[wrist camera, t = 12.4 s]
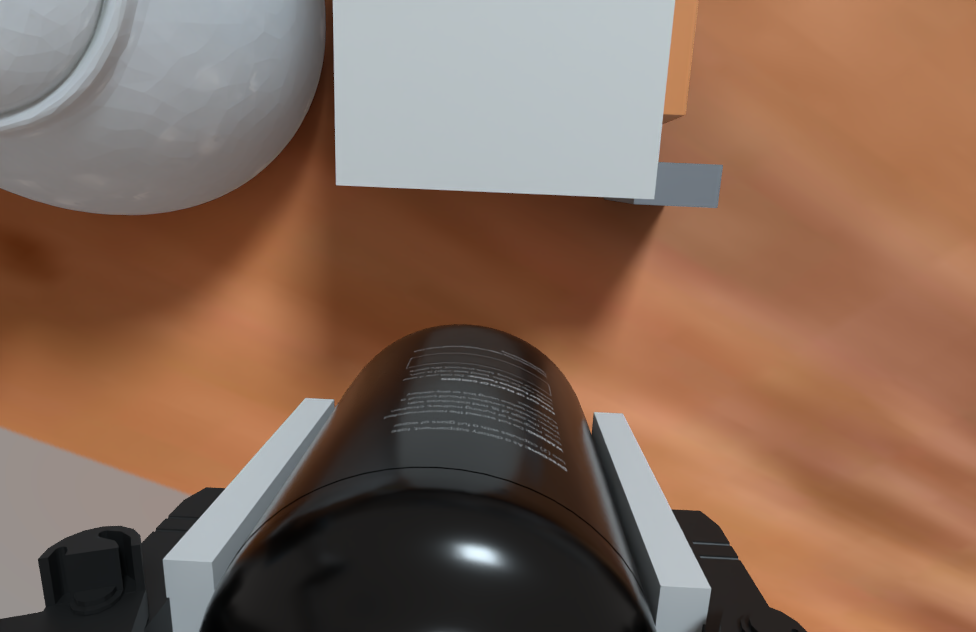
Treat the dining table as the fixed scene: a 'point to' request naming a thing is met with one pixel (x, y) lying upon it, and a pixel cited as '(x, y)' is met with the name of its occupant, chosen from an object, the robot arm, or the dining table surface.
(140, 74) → the teapot
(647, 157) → the box
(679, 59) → the block
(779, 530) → the dining table surface
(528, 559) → the supplement bottle
